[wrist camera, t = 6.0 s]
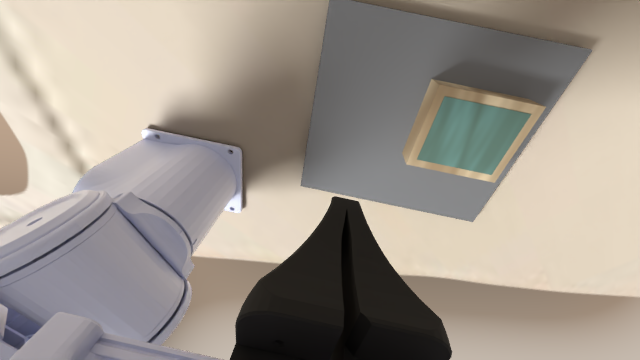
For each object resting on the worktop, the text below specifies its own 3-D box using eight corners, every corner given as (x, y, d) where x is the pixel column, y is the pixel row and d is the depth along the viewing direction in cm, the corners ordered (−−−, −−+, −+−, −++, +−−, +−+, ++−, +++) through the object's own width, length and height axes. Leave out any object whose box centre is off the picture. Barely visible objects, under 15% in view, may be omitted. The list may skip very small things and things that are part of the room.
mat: (302, 181, 25) (300, 185, 24) (331, -4, 16) (330, -5, 16) (469, 216, 25) (472, 221, 24) (583, 48, 16) (592, 49, 16)
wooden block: (406, 164, 19) (494, 183, 19) (439, 85, 16) (546, 107, 16) (402, 153, 21) (483, 169, 21) (431, 78, 18) (527, 98, 18)
